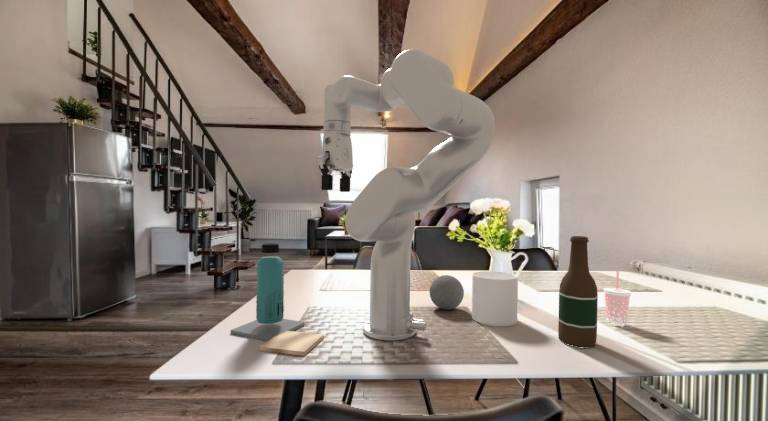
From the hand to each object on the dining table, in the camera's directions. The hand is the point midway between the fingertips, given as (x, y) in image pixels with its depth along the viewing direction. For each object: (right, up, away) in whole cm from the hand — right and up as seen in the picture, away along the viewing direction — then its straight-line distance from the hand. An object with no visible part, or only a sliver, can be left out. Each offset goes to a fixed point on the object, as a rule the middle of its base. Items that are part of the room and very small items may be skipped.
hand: (336, 190), depth 100 cm
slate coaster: (-14, -34, -14) cm, 40 cm away
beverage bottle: (-14, -34, -14) cm, 39 cm away
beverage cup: (+75, -36, -7) cm, 83 cm away
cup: (+43, -35, -4) cm, 56 cm away
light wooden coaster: (-6, -35, -23) cm, 42 cm away
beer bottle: (+57, -36, -20) cm, 70 cm away
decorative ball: (+32, -35, +5) cm, 48 cm away
